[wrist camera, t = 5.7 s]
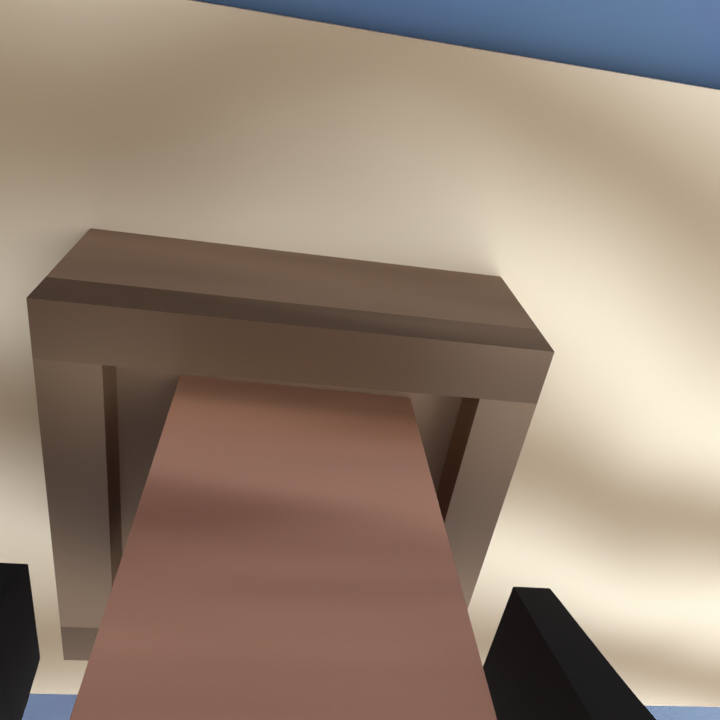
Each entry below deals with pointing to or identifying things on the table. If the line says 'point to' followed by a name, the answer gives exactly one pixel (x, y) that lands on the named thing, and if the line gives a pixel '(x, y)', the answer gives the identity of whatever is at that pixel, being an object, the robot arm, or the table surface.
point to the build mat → (411, 196)
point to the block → (286, 569)
